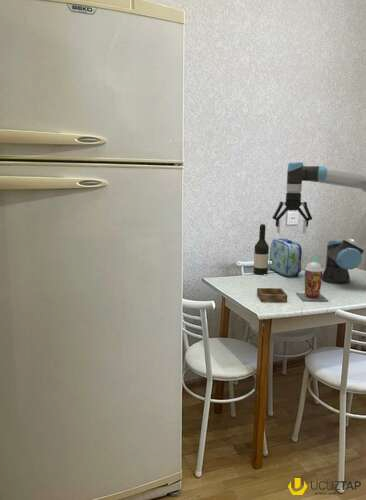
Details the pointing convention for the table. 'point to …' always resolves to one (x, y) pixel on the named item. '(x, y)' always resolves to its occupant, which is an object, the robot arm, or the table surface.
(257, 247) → the wine bottle
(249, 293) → the table surface
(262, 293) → the tray
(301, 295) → the coaster
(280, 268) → the lunch box
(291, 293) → the table surface
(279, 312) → the table surface
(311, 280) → the smoothie
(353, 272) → the table surface
